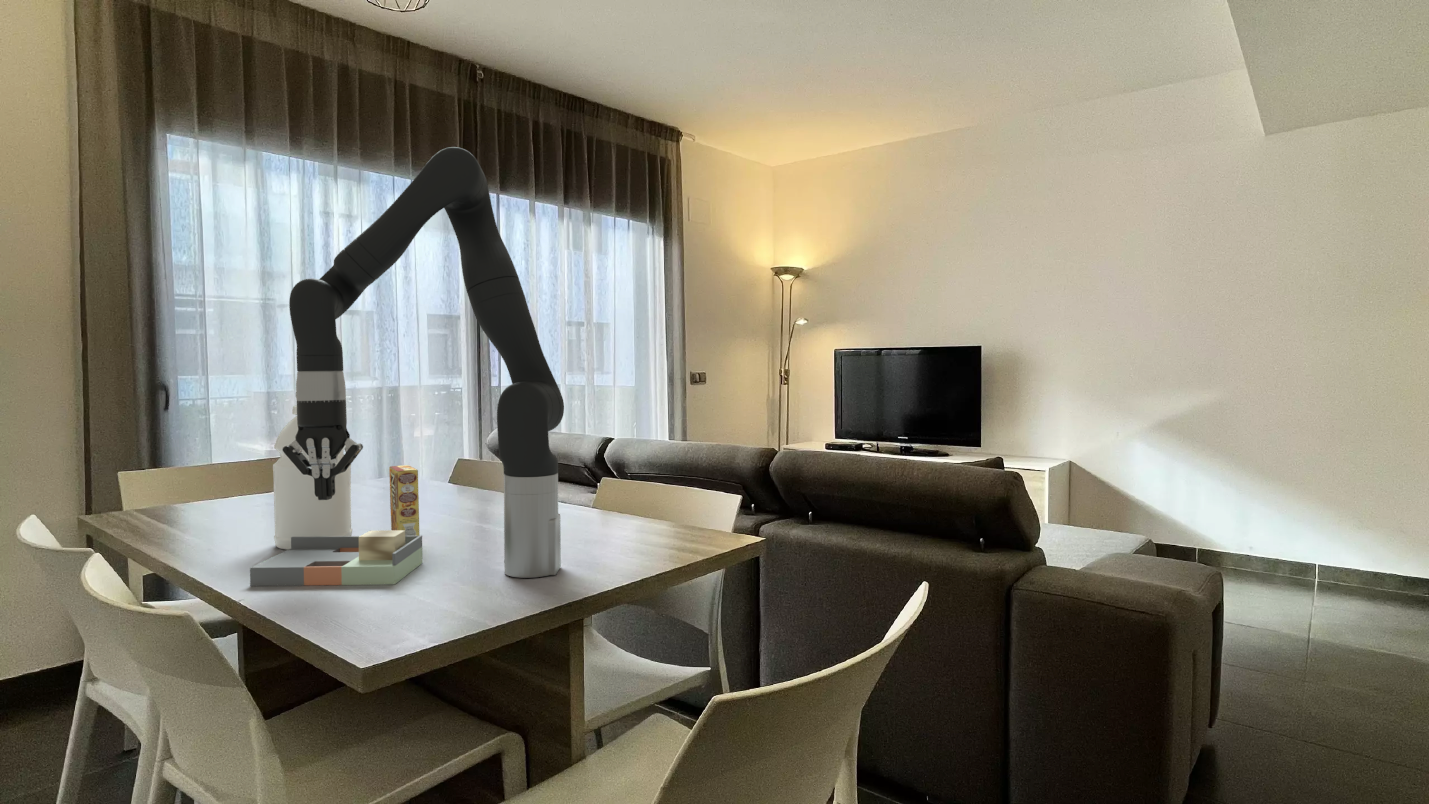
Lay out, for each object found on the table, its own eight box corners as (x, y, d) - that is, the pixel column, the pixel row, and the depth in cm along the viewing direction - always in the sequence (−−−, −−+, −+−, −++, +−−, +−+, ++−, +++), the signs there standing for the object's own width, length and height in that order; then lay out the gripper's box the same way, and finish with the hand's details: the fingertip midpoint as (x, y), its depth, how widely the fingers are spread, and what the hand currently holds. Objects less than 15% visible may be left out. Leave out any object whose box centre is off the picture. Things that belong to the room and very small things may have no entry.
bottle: (262, 552, 147) (259, 407, 146) (289, 536, 161) (287, 403, 160) (340, 549, 150) (337, 406, 148) (360, 534, 163) (358, 403, 162)
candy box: (420, 545, 154) (419, 469, 153) (398, 547, 151) (397, 470, 151) (410, 537, 161) (410, 464, 160) (389, 539, 159) (388, 465, 158)
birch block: (405, 552, 135) (405, 530, 135) (395, 559, 130) (394, 536, 130) (370, 553, 134) (370, 530, 134) (358, 560, 129) (358, 536, 129)
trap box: (422, 562, 140) (422, 535, 139) (394, 584, 126) (394, 554, 126) (292, 564, 138) (292, 536, 138) (250, 586, 124) (249, 555, 124)
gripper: (369, 396, 134) (373, 494, 135) (292, 398, 134) (295, 496, 134) (352, 398, 127) (356, 502, 128) (270, 399, 126) (273, 504, 127)
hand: (325, 499), depth 131 cm, fingers closed
